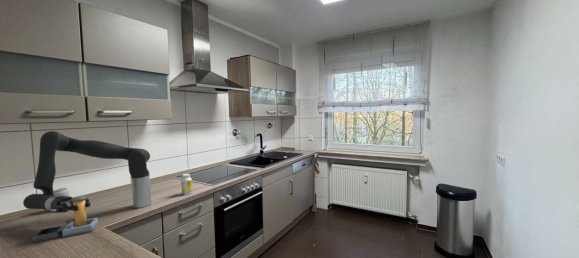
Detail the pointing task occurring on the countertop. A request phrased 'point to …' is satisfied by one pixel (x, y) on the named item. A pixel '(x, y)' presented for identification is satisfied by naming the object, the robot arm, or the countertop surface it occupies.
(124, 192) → the countertop surface
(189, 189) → the supplement bottle
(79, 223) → the stop pin
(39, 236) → the pin collar
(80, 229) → the parts tray
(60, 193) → the can
